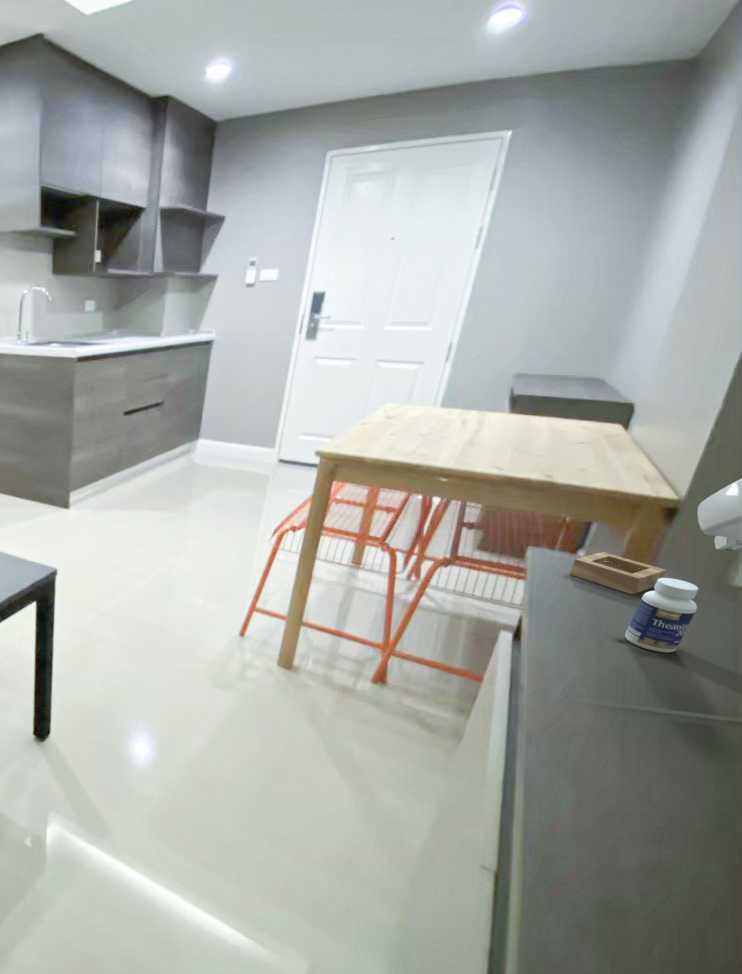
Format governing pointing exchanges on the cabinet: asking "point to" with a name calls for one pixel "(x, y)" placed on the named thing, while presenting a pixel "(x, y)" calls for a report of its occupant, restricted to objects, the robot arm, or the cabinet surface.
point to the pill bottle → (663, 615)
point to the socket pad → (617, 572)
